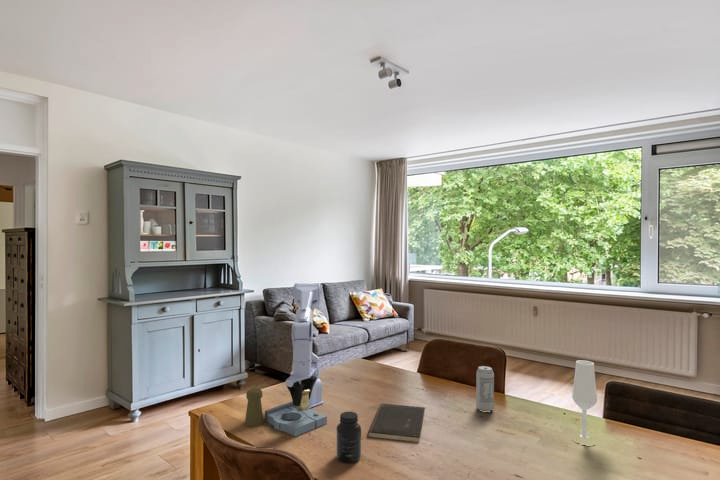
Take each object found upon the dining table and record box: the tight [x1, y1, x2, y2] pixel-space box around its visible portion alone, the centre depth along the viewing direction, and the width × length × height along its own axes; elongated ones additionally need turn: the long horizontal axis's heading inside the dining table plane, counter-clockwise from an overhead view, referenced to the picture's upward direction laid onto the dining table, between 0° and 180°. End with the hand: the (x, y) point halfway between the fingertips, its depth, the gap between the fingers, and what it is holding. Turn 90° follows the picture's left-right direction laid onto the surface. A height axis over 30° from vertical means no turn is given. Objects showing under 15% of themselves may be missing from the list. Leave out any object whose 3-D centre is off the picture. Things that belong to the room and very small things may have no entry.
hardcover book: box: [366, 403, 426, 443], centre depth 142 cm, size 16×23×2 cm
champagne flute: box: [571, 359, 598, 438], centre depth 131 cm, size 7×7×24 cm
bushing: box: [296, 388, 310, 411], centre depth 137 cm, size 5×5×6 cm
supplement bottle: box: [336, 411, 362, 464], centre depth 120 cm, size 7×7×12 cm
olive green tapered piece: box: [244, 387, 265, 428], centre depth 142 cm, size 6×6×11 cm
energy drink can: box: [475, 365, 495, 411], centre depth 154 cm, size 6×6×15 cm
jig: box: [264, 401, 328, 437], centre depth 142 cm, size 14×16×4 cm
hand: (301, 402), depth 138 cm, fingers closed on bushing, 5 cm apart
